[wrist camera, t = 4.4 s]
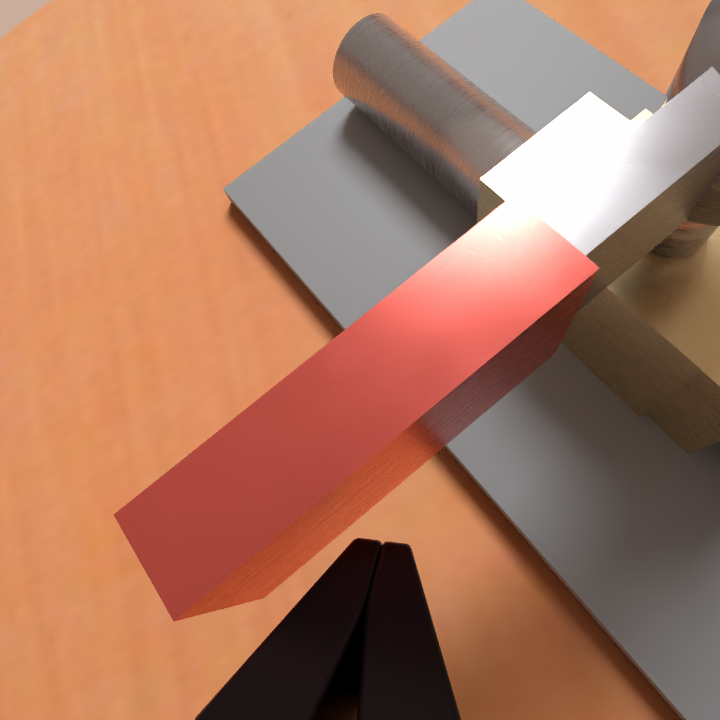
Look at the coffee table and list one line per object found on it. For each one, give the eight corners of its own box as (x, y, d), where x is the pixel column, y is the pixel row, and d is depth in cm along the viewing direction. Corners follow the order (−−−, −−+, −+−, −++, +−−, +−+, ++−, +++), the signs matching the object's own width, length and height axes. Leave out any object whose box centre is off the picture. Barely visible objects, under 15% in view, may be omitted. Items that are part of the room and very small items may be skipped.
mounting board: (1207, 492, 14) (1250, 488, 13) (821, 879, 13) (843, 899, 12) (495, 0, 23) (497, -18, 22) (230, 201, 22) (222, 188, 21)
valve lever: (702, 93, 12) (794, -76, 9) (820, 171, 11) (974, 13, 8) (200, 499, 11) (92, 479, 7) (282, 627, 10) (199, 666, 6)
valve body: (1096, 603, 13) (1640, 648, 7) (969, 729, 13) (1430, 890, 7) (414, 56, 22) (400, -130, 16) (327, 122, 21) (279, -44, 15)
